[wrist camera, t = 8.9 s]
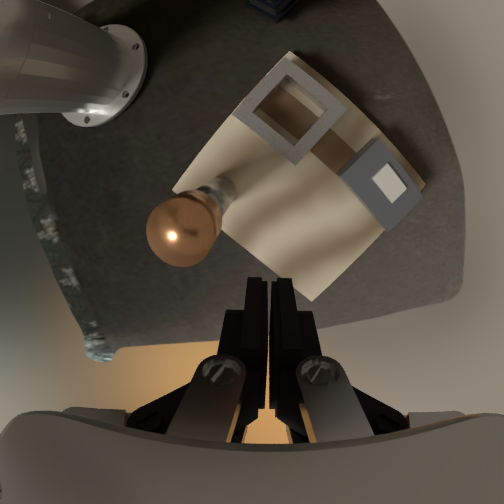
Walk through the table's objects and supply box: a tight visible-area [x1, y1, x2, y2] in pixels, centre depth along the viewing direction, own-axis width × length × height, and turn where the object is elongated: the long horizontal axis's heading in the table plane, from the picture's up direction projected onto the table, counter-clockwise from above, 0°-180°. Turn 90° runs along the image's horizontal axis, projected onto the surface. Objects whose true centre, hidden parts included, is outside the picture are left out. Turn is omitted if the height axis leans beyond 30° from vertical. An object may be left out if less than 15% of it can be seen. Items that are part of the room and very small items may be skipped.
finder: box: [335, 139, 423, 232], centre depth 24 cm, size 7×5×3 cm
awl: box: [146, 176, 236, 267], centre depth 21 cm, size 4×4×13 cm
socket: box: [232, 57, 348, 166], centre depth 22 cm, size 7×7×2 cm
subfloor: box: [172, 51, 426, 301], centre depth 26 cm, size 19×18×1 cm
